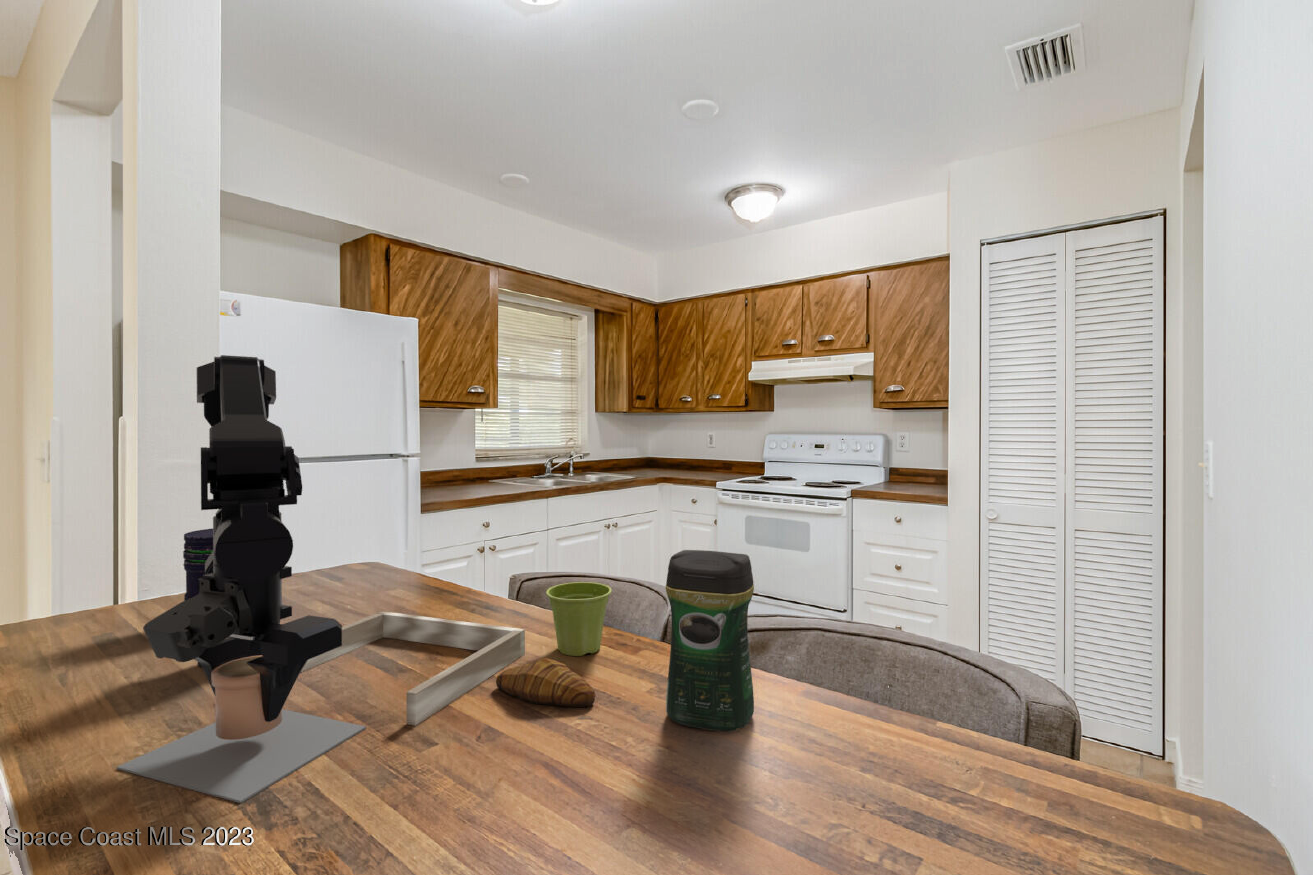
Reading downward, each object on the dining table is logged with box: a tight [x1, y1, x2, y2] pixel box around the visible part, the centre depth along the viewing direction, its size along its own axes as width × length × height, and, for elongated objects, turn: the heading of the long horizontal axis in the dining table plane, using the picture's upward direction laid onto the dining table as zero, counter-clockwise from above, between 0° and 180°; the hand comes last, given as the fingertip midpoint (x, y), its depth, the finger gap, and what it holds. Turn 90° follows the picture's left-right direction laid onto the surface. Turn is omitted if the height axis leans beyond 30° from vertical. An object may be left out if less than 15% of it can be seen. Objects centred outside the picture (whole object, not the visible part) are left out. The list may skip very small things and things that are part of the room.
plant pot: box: [545, 581, 613, 657], centre depth 90 cm, size 9×9×9 cm
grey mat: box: [116, 708, 367, 804], centre depth 62 cm, size 16×14×1 cm
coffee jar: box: [665, 549, 755, 733], centre depth 69 cm, size 10×8×19 cm
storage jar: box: [182, 528, 213, 601], centre depth 101 cm, size 10×10×15 cm
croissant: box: [495, 657, 596, 708], centre depth 74 cm, size 14×7×5 cm, turn 67°
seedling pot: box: [211, 655, 282, 740], centre depth 62 cm, size 6×6×6 cm
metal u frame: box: [300, 611, 526, 727], centre depth 82 cm, size 25×22×4 cm
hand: (249, 715), depth 62 cm, fingers closed on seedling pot, 6 cm apart
